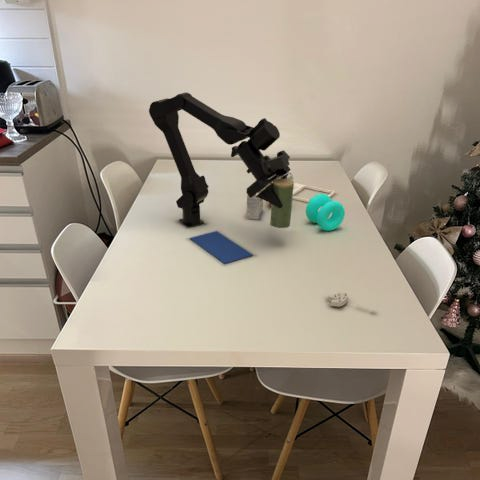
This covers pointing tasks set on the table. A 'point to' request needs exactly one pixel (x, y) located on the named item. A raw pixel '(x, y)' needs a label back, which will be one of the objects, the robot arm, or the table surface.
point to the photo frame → (299, 187)
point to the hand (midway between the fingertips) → (285, 204)
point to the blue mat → (221, 247)
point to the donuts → (325, 212)
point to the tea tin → (285, 194)
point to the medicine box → (254, 207)
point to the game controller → (339, 299)
